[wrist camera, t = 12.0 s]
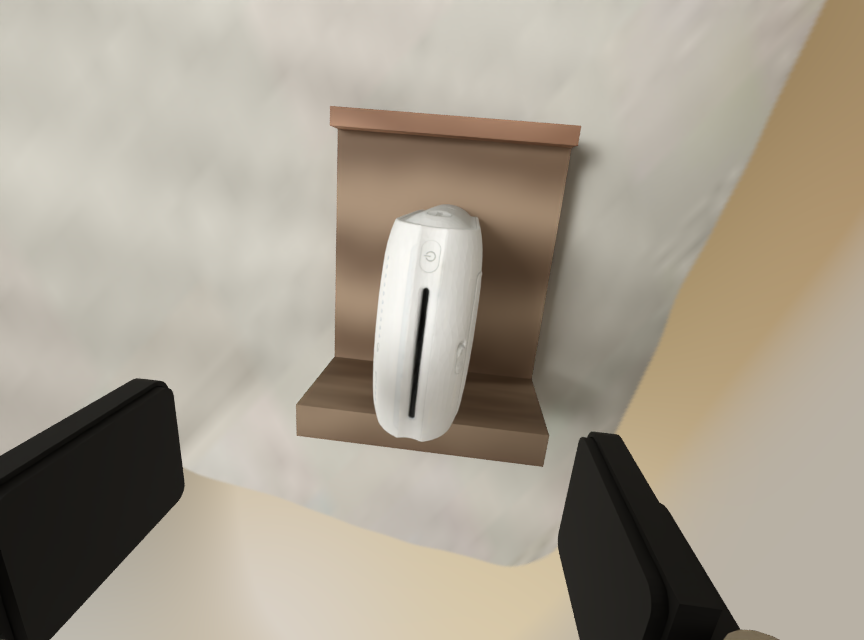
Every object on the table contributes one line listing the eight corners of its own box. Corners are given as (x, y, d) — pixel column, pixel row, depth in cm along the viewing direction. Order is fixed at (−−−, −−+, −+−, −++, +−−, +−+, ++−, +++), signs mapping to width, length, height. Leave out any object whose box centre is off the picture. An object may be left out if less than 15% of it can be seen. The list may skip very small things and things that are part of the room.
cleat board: (351, 118, 28) (290, 83, 19) (564, 135, 27) (613, 108, 18) (345, 365, 34) (296, 435, 24) (522, 385, 33) (542, 466, 23)
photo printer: (416, 198, 26) (372, 207, 15) (485, 206, 26) (495, 223, 14) (400, 349, 30) (353, 457, 18) (461, 358, 29) (454, 473, 18)
